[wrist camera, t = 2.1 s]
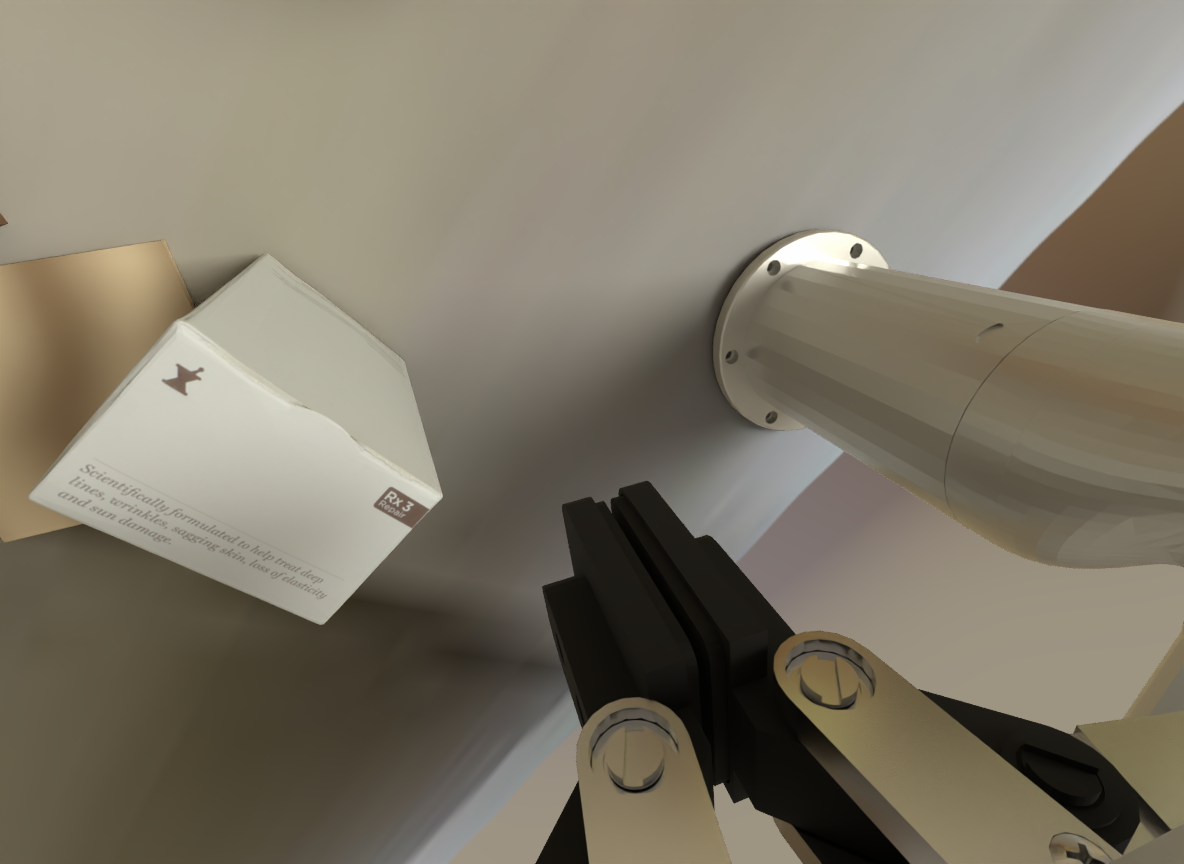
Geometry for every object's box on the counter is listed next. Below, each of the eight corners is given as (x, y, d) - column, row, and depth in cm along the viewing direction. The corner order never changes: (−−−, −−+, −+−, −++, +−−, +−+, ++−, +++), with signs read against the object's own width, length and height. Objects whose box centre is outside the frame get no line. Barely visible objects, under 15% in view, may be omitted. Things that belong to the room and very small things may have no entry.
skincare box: (184, 340, 25) (-17, 499, 13) (271, 243, 25) (158, 306, 12) (342, 444, 30) (313, 644, 17) (419, 363, 29) (449, 502, 16)
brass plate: (164, 239, 24) (160, 240, 24) (271, 474, 29) (270, 478, 29) (-175, 292, 22) (-185, 294, 21) (9, 537, 27) (4, 542, 27)
